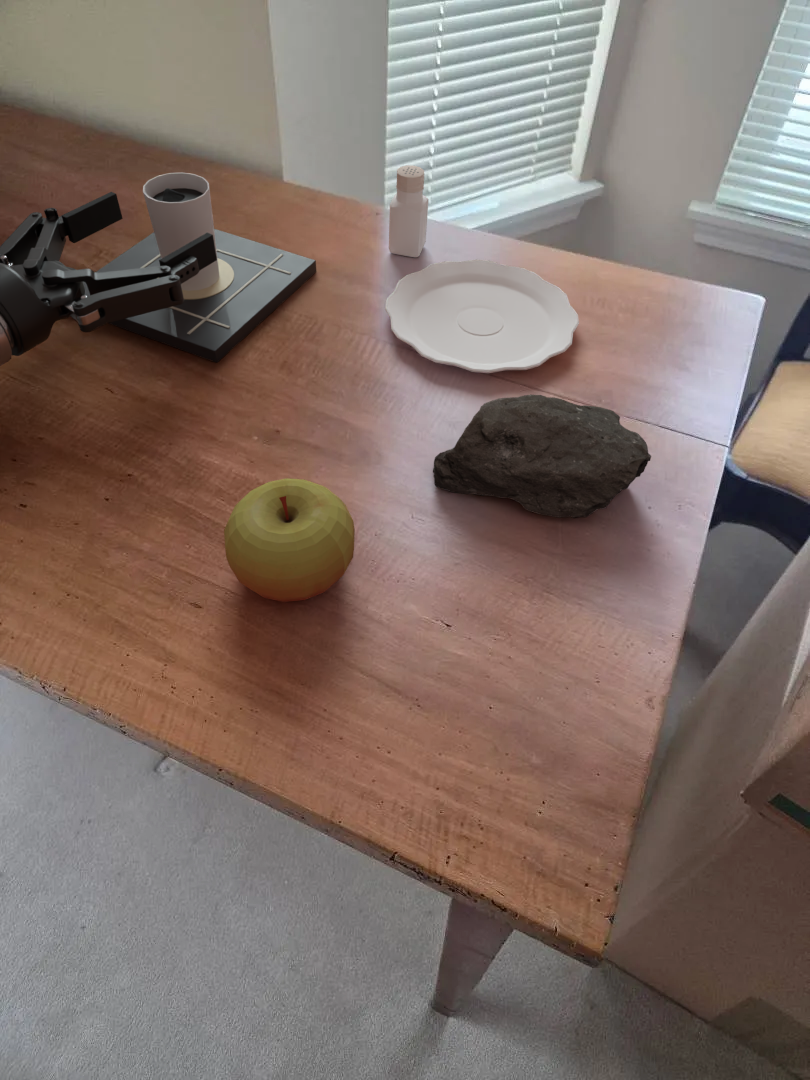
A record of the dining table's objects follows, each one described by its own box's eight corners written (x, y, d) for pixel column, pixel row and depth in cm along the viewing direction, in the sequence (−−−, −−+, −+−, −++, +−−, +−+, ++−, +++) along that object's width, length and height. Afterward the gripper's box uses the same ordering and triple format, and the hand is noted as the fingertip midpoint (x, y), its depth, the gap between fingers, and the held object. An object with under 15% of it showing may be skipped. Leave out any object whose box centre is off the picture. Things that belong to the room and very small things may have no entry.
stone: (437, 516, 61) (448, 392, 59) (427, 492, 70) (436, 383, 67) (652, 528, 63) (672, 408, 60) (617, 504, 71) (634, 397, 69)
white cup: (157, 291, 82) (135, 201, 74) (169, 259, 86) (150, 170, 78) (218, 294, 82) (203, 204, 74) (228, 261, 86) (214, 173, 79)
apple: (288, 506, 65) (280, 438, 59) (379, 559, 62) (380, 493, 55) (207, 579, 60) (188, 512, 53) (301, 642, 56) (293, 578, 50)
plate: (421, 257, 92) (422, 244, 90) (589, 295, 88) (593, 282, 87) (358, 354, 79) (358, 341, 78) (552, 403, 75) (555, 390, 74)
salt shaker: (426, 244, 94) (431, 166, 86) (418, 260, 91) (423, 181, 84) (395, 238, 94) (398, 161, 87) (387, 254, 92) (389, 176, 84)
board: (65, 307, 82) (60, 294, 81) (178, 228, 94) (175, 215, 93) (217, 363, 77) (214, 350, 76) (316, 271, 89) (316, 259, 87)
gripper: (-82, 308, 73) (90, 222, 85) (96, 409, 65) (259, 299, 76) (-120, 235, 67) (70, 153, 79) (69, 335, 59) (250, 228, 71)
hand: (163, 225), depth 78 cm, fingers open, 13 cm apart
